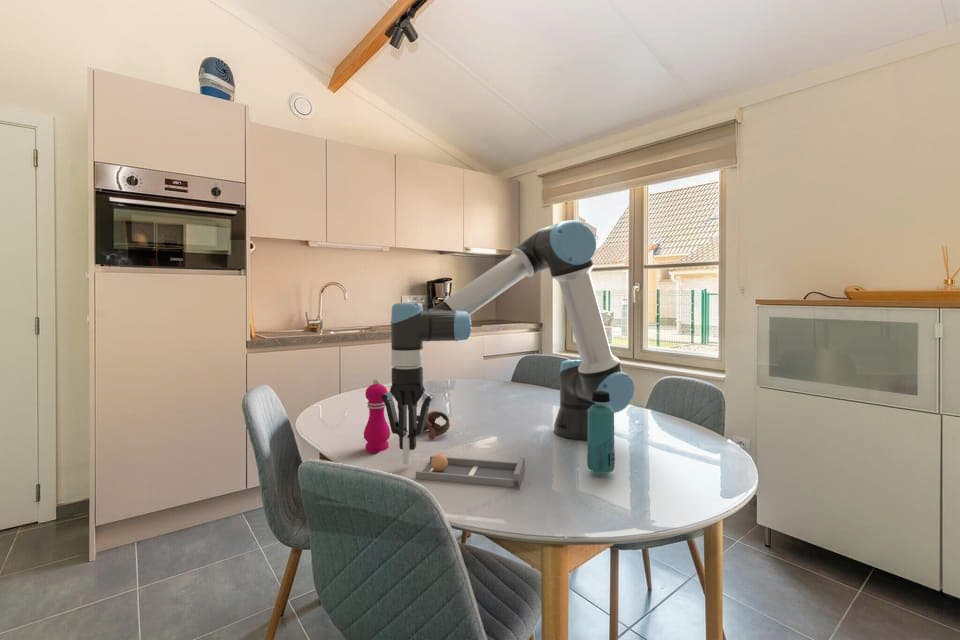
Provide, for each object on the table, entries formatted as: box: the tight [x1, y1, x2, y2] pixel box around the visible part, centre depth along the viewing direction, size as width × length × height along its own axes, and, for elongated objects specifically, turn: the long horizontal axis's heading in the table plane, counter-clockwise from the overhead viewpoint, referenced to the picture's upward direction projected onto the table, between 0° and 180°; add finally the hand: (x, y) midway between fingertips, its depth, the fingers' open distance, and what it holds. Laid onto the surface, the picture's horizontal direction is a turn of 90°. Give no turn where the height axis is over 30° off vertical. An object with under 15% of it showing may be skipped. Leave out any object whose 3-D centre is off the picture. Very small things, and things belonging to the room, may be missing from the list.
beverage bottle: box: [586, 391, 616, 474], centre depth 107 cm, size 6×7×20 cm
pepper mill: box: [363, 378, 391, 454], centre depth 125 cm, size 7×7×20 cm
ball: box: [431, 453, 448, 471], centre depth 108 cm, size 4×4×4 cm
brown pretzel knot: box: [417, 410, 451, 440], centre depth 138 cm, size 12×10×8 cm
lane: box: [415, 455, 526, 491], centre depth 107 cm, size 24×11×4 cm, turn 78°
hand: (407, 462), depth 110 cm, fingers closed
